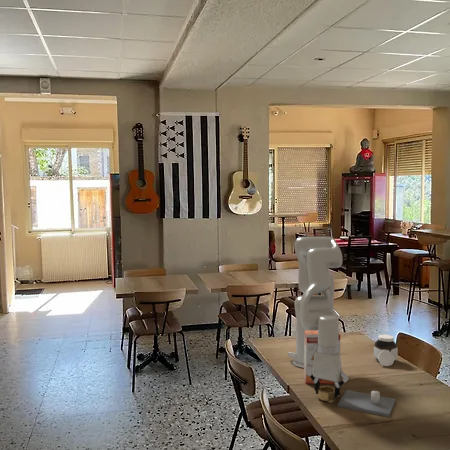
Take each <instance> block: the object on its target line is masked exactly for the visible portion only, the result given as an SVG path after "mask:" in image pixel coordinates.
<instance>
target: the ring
mask: <svg viewBox="0 0 450 450" xmlns="http://www.w3.org/2000/svg"><path fill="white" fill-rule="evenodd" d="M316 396H317V398H318V399H320V400H321V401H325V402H333V401H336V400H337V398H335V387H334V386H330V385H322V386H321V385H320V387H319V388H318V394H317V395H316Z"/></svg>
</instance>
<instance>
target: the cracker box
mask: <svg viewBox="0 0 450 450" xmlns="http://www.w3.org/2000/svg"><path fill="white" fill-rule="evenodd" d="M317 343H318V330H317V331H305V337H304V368H303V380H304V382H305V384H315V383H314V381H313V380H312V379H311V378H310V376H309V374H308V373H307V371H308V370H309V369H310V368H311V367H313V364H314V356H315V352H316V350H317V348H316V347H314V344H317ZM338 352H339V353H340V354H341V334H340V333H339V335H338ZM312 373H313V371H312ZM319 381H320V385H321V384H323V385H324V384H325V385H326V384H329V385H330V384H331V385H333V384H334V385H335V382H334V381H329V380H324V379H319Z"/></svg>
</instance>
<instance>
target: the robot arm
mask: <svg viewBox="0 0 450 450" xmlns="http://www.w3.org/2000/svg"><path fill="white" fill-rule="evenodd" d="M294 251H295V255H296V258H297V262H298V273H297V274H298V277H297V278H298V281H297V283H298V289H299V291H300V292H301V293H303V294H302V295H299V296H298V297H296V298H295V300H294V311H295V321H296V325H295V327H296V329H295V330H296V333H295V334H296V335H295V337H296V339H295V346H296V347H295V352H293V351H288V352H287V356H288V358H292V359H293V360H292V365H294V366H296V367H298V368H303V369H304V337H305V331H318V343H317V344H314V347H316V348H317V350H316V352H315V356H314V364H313V367H311V368H310V369H309V370H308V371H307V373H308V374H309V376H310V378H311V379H312V380H313V381H314V383H313V384H314V391H315V394H316V395H318V388H319V387H320V386H321V384H320V381H319V379H324V380H329V381H334V382H335V384H334V385H335V387H334V388H335V398H336V399H337V398H338V397H339V396H340V395H341V394H340V393H341V387H342V386H343V385H344V384H345V383H346V382H347V381H348V380H349V379H350V378H349V376H348V375H347V374H346V373H345V372H344V371H343V369H342V359H341V352H340V353H339V352H338V335H339V334H340V333H339V332H340V331H339V330H340V329H339V323H340V321H339V320H340V319H339V315H338V314H337V313H336V312H335V311H334V306H335V305H334V304H335V280H334V276H333V274H332V273H330V269H338V268H341V267H342V265H343V253H342V251H341V248H340V246H339V244H338V243H337V241H336V239H335V238H334V237H332V236H301V237H300V236H299V237H297V238H296V239H295V241H294ZM317 294H319V295H317ZM321 294H322V295H321ZM312 371H313V373H312ZM341 377H342V380H340V379H341Z"/></svg>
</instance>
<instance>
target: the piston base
mask: <svg viewBox="0 0 450 450" xmlns="http://www.w3.org/2000/svg"><path fill="white" fill-rule="evenodd" d="M380 394H381V393H380V391H377V390H372V391H370V393H366V392H365V393H364V392H360V391H355V390H350V389H346V390H345V392H344V393H343V395H342V397H341V398H340V399H339V401H338V403H337V407H339V408H344V409H347V410H348V409H349V410H353V411H354V410H355V411H358V412H364V413H369V414H372V415H377V416H383V417H386V418H390V416H391V413H392V411H393V409H394V406H395V404H396V398H391V397H387V396H381V395H380Z"/></svg>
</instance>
